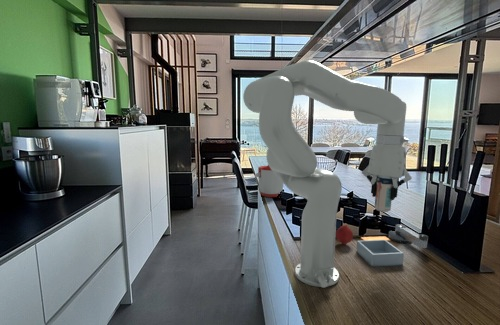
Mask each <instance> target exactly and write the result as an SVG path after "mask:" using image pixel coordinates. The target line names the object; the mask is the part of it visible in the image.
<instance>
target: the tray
mask: <svg viewBox="0 0 500 325" xmlns="http://www.w3.org/2000/svg"><path fill="white" fill-rule="evenodd" d="M355 251H356V253H357V254H358V255H359V256H360V257H361V258H363V260H364V261H366V262H367V263H368V265H370V266H371V267H372V268H373V267H391V266H403V264H404V257H405V256H404V254H405V253H404V252H403V251H401V250H400V249H399V248H398V247H396V246H394V245H393V244H392V243H391V242H390V241H386V240H357V241H356V250H355Z"/></svg>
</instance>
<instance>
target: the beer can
mask: <svg viewBox="0 0 500 325" xmlns="http://www.w3.org/2000/svg"><path fill="white" fill-rule="evenodd" d="M392 187H393V180H392V178H390V177H386V176H378V177H377V186H376V196H375V197H374V209H375V210H376V211H378V212H382V213H388V212H390V211H391V209H392V208H391V207H392V201H393V200H391V199H390V197H391V188H392Z"/></svg>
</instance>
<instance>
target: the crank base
mask: <svg viewBox="0 0 500 325" xmlns="http://www.w3.org/2000/svg"><path fill="white" fill-rule="evenodd" d="M360 240H361V241H363V240H386V241H388V242H391V241H393V242H396V243H397V242H398V243H404V244H409V243H411V242H410V241H408V240H407V239H405V238H404V237H402V236H400V235H398V234H396V233H395V231H392V230H389V231H388V237H387V236H363V237H362V236H361V237H360Z"/></svg>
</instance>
